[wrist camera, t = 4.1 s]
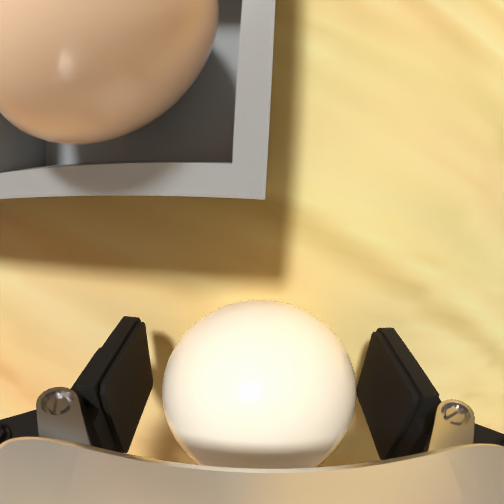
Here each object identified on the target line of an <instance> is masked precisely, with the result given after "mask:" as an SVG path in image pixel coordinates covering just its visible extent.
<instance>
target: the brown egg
mask: <svg viewBox="0 0 504 504" xmlns="http://www.w3.org/2000/svg"><path fill="white" fill-rule="evenodd" d="M218 22H219V4H218V0H0V113H1V114H2V115H3V116H4V117H5V118H6V119H7V120H8V121H9V122H10V123H12V124H13V125H14V126H16V127H17V128H18V129H20V130H21V131H23V132H25V133H27V134H29V135H31V136H34V137H36V138H39V139H42V140H45V141H48V142H53V143H61V144H69V145H83V144H92V143H98V142H105V141H108V140H112V139H115V138H119V137H121V136H124V135H126V134H128V133H131V132H133V131H136V130H138V129H140V128H142V127H143V126H145V125H147V124H149V123H151V122H152V121H154V120H155V119H157V118H158V117H159V116H161V115H162V114H164V113H165V112H166V111H167V110H168V109H170V108H171V107H172V106H173V105H174V104H176V103H177V102H178V100H179V99H180V98H181V97H182V96H183V95H184V94H185V93H186V92H187V91H188V90H189V88H190V87H191V86H192V84H193V83H194V82H195V81H196V79H197V78H198V76H199V74H200V73H201V71H202V70H203V68H204V66H205V64H206V62H207V60H208V58H209V56H210V53H211V50H212V47H213V44H214V41H215V38H216V33H217V27H218Z"/></svg>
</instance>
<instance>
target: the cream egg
mask: <svg viewBox="0 0 504 504" xmlns="http://www.w3.org/2000/svg"><path fill="white" fill-rule="evenodd" d="M162 399H163V407H164V412H165V416H166V420H167V422H168V425H169V428H170V430H171V432H172V434H173V436H174V437H175V439H176V440H177V442H178V443H179V445H180V446H181V448H182V449H183V450H184V451H185V452H186V453H187V454H188V455H189V456H190V457H191V458H192V459H193V460H194V461H195V462H196V463H197V464H199V465H204V466H215V467H229V468H251V469H293V468H315V467H316V466H317V465H319V464H320V463H322V462H323V461H324V460H325V459H326V458H327V457H328V456H329V455H330V454H331V453H332V452H333V451H334V450H335V449H336V448H337V446H338V445H339V443H340V442H341V441H342V439H343V437H344V436H345V434H346V432H347V430H348V428H349V426H350V423H351V420H352V417H353V413H354V410H355V403H356V381H355V373H354V370H353V367H352V363H351V360H350V357H349V355H348V353H347V351H346V350H345V348H344V346H343V344H342V342H341V341H340V340H339V338H338V337H337V336H336V334H335V333H334V332H333V331H332V330H331V329H330V328H329V327H328V326H327V325H326V324H325V323H324V322H323V321H321V320H320V319H318V318H317V317H315V316H314V315H312V314H311V313H309V312H307V311H305V310H303V309H301V308H299V307H297V306H294V305H291V304H288V303H283V302H279V301H272V300H248V301H240V302H236V303H232V304H228V305H226V306H223V307H220V308H218V309H216V310H214V311H212V312H210V313H209V314H207V315H205V316H204V317H203V318H201V319H200V320H198V321H197V322H195V323H194V324H193V325H192V326H191V327H190V328H189V329H188V330H187V331H186V332H185V334H184V335H183V336H182V337H181V339H180V340H179V341H178V342H177V344H176V346H175V348H174V350H173V351H172V353H171V355H170V357H169V359H168V363H167V366H166V369H165V373H164V377H163V386H162Z"/></svg>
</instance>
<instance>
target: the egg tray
mask: <svg viewBox="0 0 504 504" xmlns="http://www.w3.org/2000/svg"><path fill="white" fill-rule="evenodd" d="M218 4H219V22H218V27H217V33H216V38H215V41H214V44H213V47H212V50H211V53H210V56H209V58H208V60H207V62H206V64H205V66H204V68H203V70H202V71H201V73H200V74H199V76H198V78H197V79H196V81H195V82H194V83H193V84H192V86H191V87H190V88H189V90H188V91H187V92H186V93H185V94H184V95H183V96H182V97H181V98H180V99H179V100H178V102H177V103H176V104H174V105H173V106H172V107H171V108H170V109H168V110H167V111H166V112H165V113H164V114H162V115H161V116H159V117H158V118H157V119H155V120H154V121H152V122H151V123H149V124H147V125H145V126H143V127H142V128H140V129H138V130H136V131H133V132H131V133H128V134H126V135H124V136H121V137H119V138H115V139H112V140H108V141H105V142H98V143H92V144H83V145H69V144H61V143H53V142H48V141H45V140H42V139H39V138H36V137H34V136H31V135H29V134H27V133H25V132H23V131H21V130H20V129H18V128H17V127H16V126H14V125H13V124H12V123H10V122H9V121H8V120H7V119H6V118H5V117H4V116H3V115H2V114H1V113H0V199H8V198H28V197H54V196H113V195H131V196H192V197H221V198H244V199H263V200H265V193H266V176H267V158H268V141H269V122H270V103H271V84H272V64H273V43H274V21H275V0H218Z"/></svg>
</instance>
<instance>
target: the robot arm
mask: <svg viewBox="0 0 504 504" xmlns="http://www.w3.org/2000/svg"><path fill="white" fill-rule="evenodd" d="M152 386H153V377H152V370H151V364H150V357H149V350H148V342H147V334H146V326H145V323H144V322H141V320H140V318H137V317H128V316H124V317H123V318H122V319H121V321H120V322H119V324H118V325H117V326H116V328H115V329H114V331H113V332H112V333H111V335H110V336H109V338H108V339H107V340H106V342H105V343H104V345H103V346H102V347H101V348H99V349H98V350H97V351H96V353H95V354H94V356H93V357H92V359H91V360H90V361H89V363H88V364H87V366H86V367H85V369H84V370H83V372H82V373H81V374H80V376H79V377H78V379H77V380H76V382H75V383H74V385H73V386H72V388H71V389H69V388H65V387H54V388H51V389H48V390H46V391H44V392H43V393H42V394H41V395H40V396H39V398H38V399H37V403H36V410H33V411H30V412H26V413H23V414H19V415H16V416H12V417H9V418H5V419H2V420H0V504H504V434H502V433H499V432H497V431H494V430H491V429H488V428H486V427H483V426H480V425H478V424H475V423H474V422H475V417H474V412H473V411H472V409H471V408H470V407H469V406H468V405H467V404H465V403H464V402H462V401H459V400H453V399H450V400H445V401H443V402H441V400H440V399H439V394H438V392H437V391H436V389H435V388H434V386H433V385H432V383H431V382H430V380H429V379H428V377H427V376H426V374H425V373H424V371H423V370H422V368H421V367H420V365H419V364H418V362H417V361H416V359H415V358H414V356H413V355H412V354H411V352H410V351H409V349H408V348H407V346H406V345H405V344H404V342H403V341H402V339H401V338H400V336H399V335H398V334H397V332H396V331H395V329H394V328H378V329H377V331H376V332H373V333H372V336H371V340H370V343H369V347H368V351H367V354H366V358H365V361H364V365H363V368H362V372H361V375H360V378H359V382H358V385H357V397H358V399H359V402H360V405H361V407H362V410H363V413H364V415H365V418H366V421H367V424H368V426H369V429H370V432H371V435H372V437H373V440H374V443H375V446H376V449H377V451H378V454H379V457H380V459H381V460H380V461H373V462H366V463H358V464H350V465H340V466H329V467H315V468H293V469H251V468H229V467H215V466H204V465H194V464H185V463H178V462H171V461H164V460H158V459H152V458H146V457H141V456H135V455H130V454H125V453H127V452H128V450H129V447H130V445H131V442H132V439H133V436H134V434H135V431H136V428H137V426H138V423H139V420H140V418H141V415H142V413H143V410H144V407H145V405H146V402H147V400H148V397H149V394H150V392H151V389H152Z"/></svg>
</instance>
